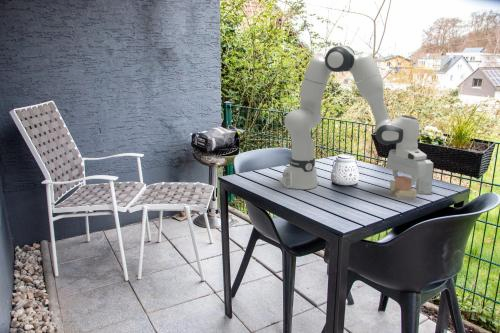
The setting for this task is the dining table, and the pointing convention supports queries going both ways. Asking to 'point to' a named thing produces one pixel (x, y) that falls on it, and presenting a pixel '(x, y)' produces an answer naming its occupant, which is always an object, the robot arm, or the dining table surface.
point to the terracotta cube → (403, 183)
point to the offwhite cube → (392, 182)
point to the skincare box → (425, 180)
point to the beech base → (403, 193)
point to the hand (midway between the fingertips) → (403, 182)
